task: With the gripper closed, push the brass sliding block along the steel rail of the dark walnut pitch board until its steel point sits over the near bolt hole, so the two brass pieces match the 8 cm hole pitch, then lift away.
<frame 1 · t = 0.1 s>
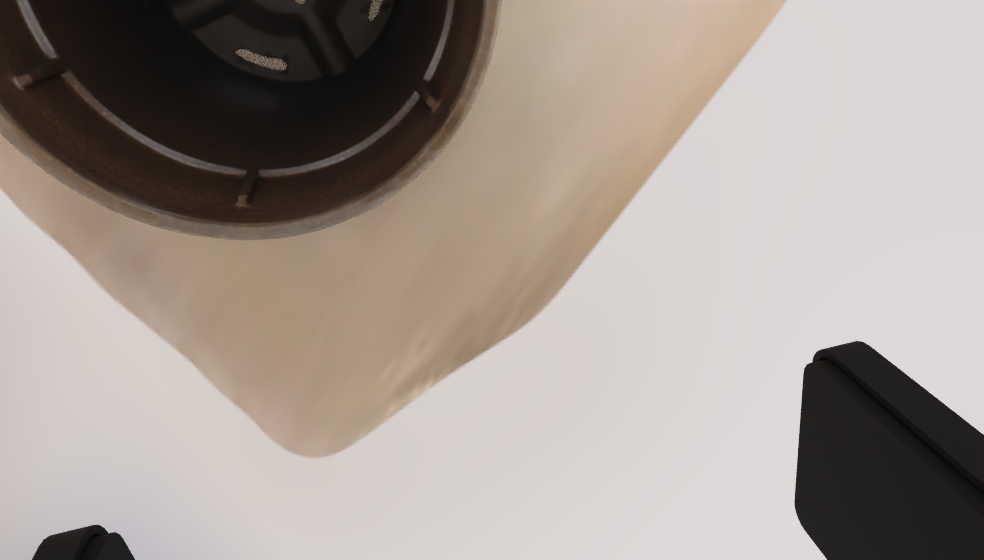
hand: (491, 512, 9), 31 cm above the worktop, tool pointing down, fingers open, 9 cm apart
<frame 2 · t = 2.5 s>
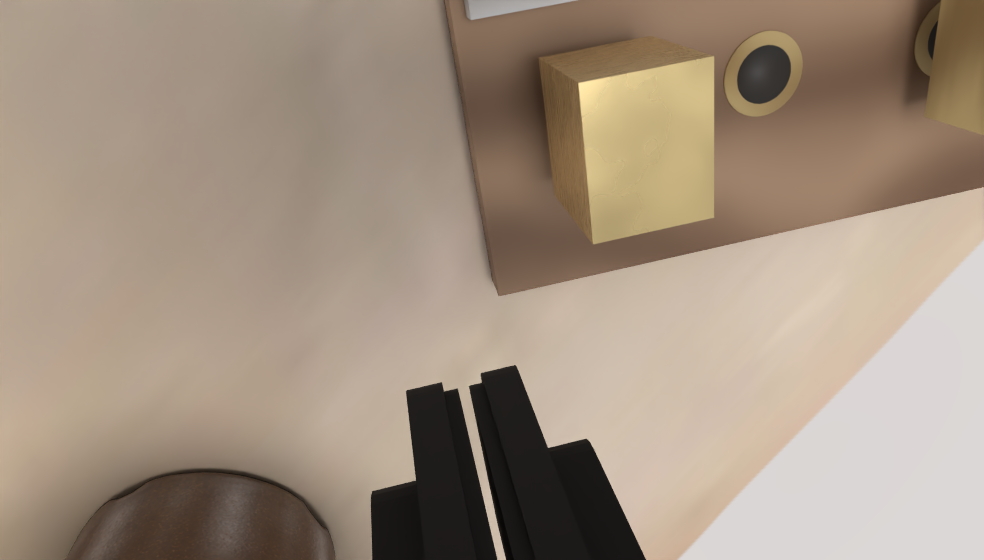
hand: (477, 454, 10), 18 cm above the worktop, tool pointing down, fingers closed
plant pot: (206, 559, 34), on the worktop
pitch board: (742, 67, 28), on the worktop
sliding block: (617, 130, 23), point 5 cm above the worktop, slide at 0.0 cm
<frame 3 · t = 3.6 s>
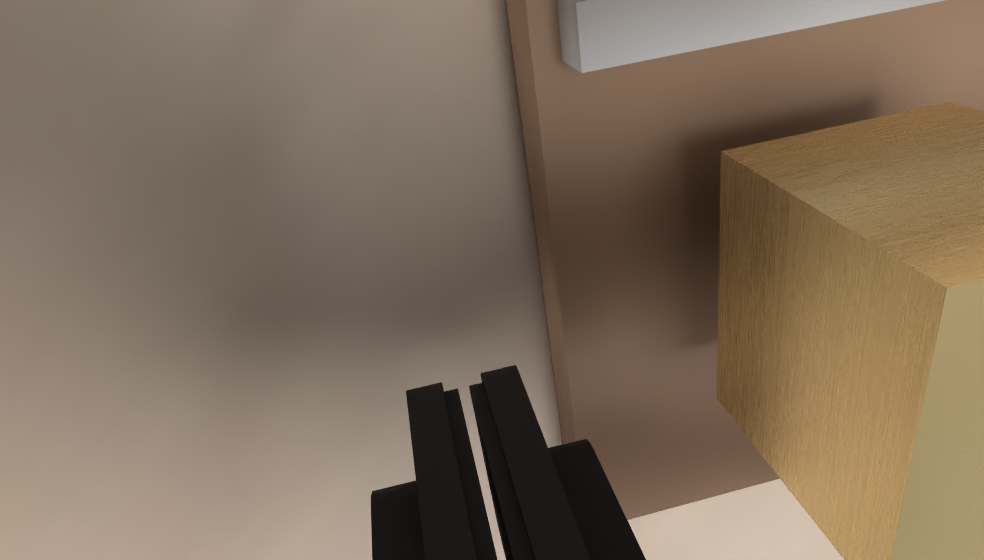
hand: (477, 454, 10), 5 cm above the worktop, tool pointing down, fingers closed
sliding block: (890, 309, 11), point 5 cm above the worktop, slide at 0.0 cm
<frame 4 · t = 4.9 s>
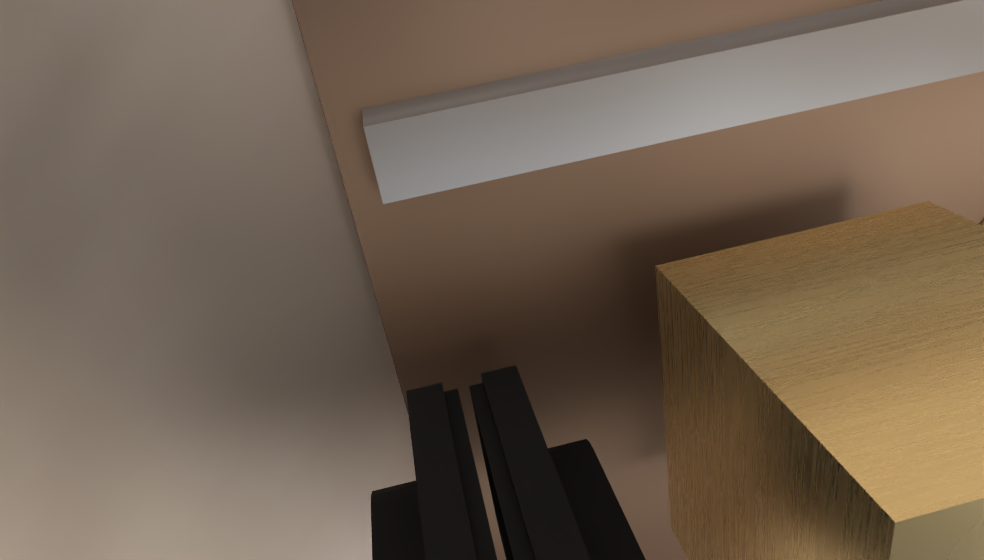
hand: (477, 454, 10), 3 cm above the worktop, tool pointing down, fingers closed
pitch board: (968, 226, 14), on the worktop
sliding block: (859, 452, 9), point 5 cm above the worktop, slide at 1.3 cm, touching gripper
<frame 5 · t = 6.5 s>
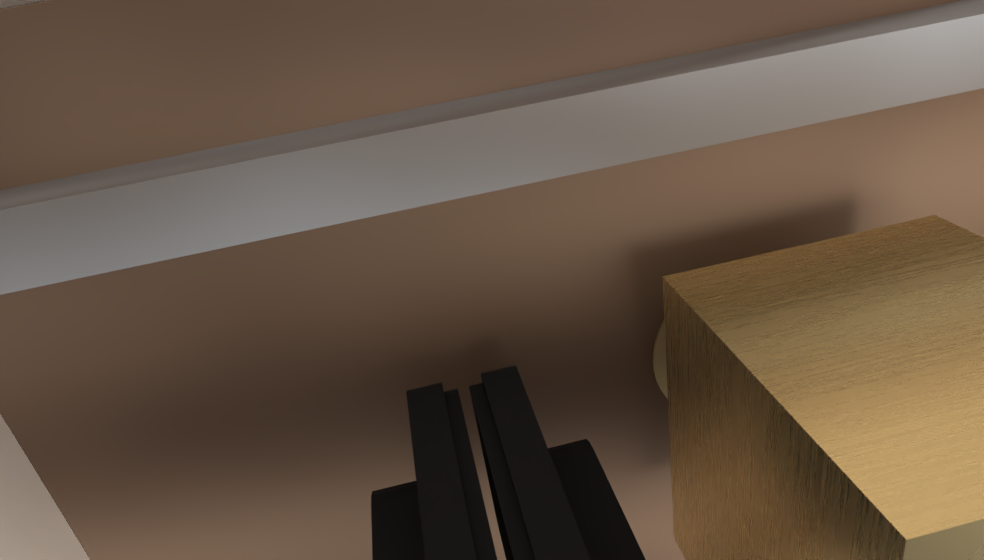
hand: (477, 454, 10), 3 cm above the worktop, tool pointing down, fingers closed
pitch board: (701, 301, 13), on the worktop
sliding block: (865, 465, 9), point 5 cm above the worktop, slide at 7.1 cm, touching gripper
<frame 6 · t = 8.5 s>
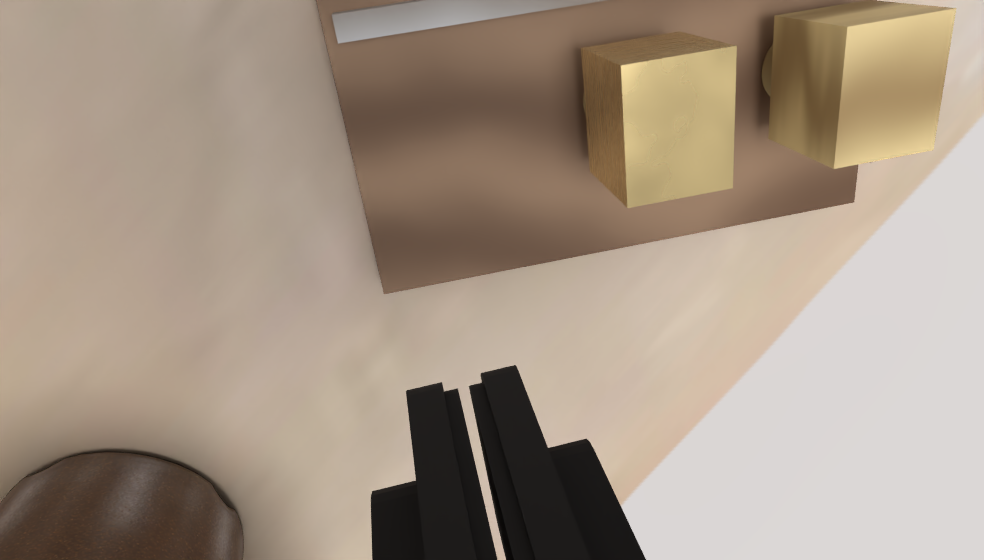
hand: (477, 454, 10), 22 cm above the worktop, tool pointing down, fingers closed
plant pot: (121, 536, 37), on the worktop
pitch board: (608, 90, 30), on the worktop
sliding block: (648, 112, 26), point 5 cm above the worktop, slide at 7.1 cm
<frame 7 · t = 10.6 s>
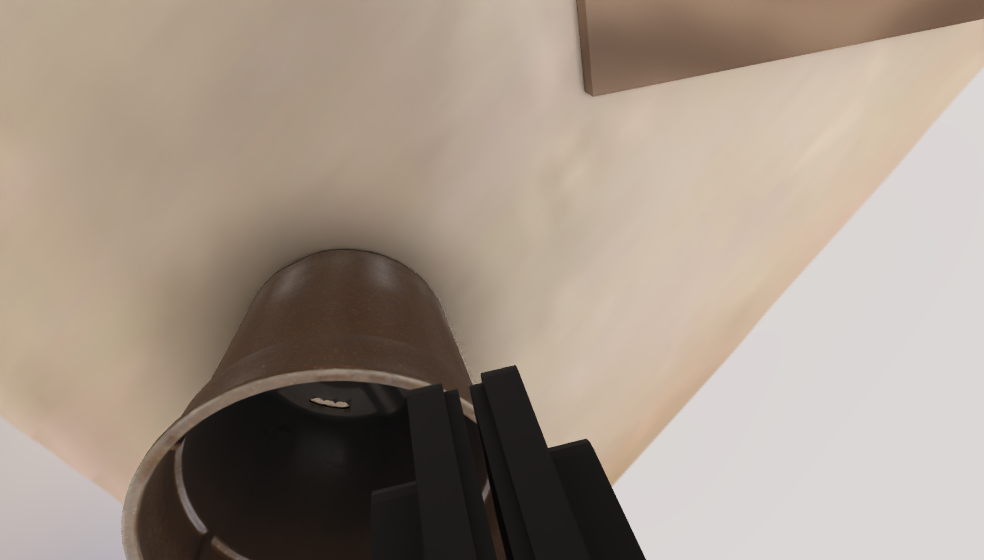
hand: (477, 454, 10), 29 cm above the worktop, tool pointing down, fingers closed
plant pot: (344, 336, 42), on the worktop
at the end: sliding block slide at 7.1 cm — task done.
